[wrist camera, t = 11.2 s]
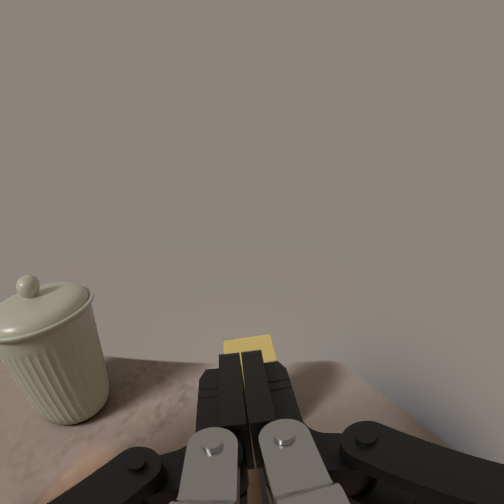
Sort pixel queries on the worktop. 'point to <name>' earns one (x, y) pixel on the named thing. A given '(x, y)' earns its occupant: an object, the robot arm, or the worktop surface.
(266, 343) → the yellow block
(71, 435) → the worktop surface
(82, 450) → the worktop surface
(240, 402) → the robot arm
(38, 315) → the canister
